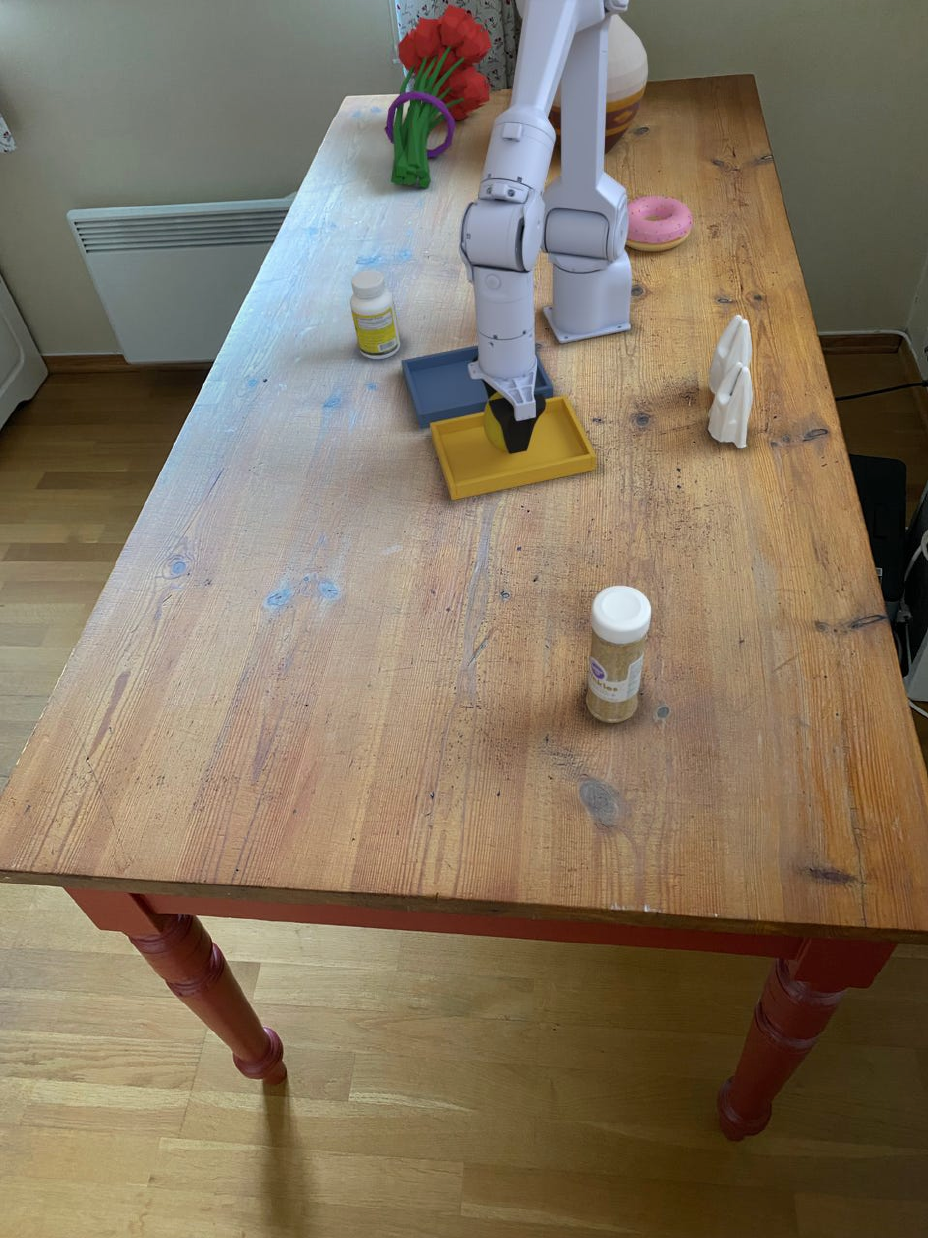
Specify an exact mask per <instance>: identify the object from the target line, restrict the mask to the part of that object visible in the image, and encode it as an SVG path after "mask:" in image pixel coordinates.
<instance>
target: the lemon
mask: <svg viewBox="0 0 928 1238" xmlns="http://www.w3.org/2000/svg"><path fill="white" fill-rule="evenodd" d="M499 398H504V397H503V396H502V395H501V394H500V393H499V392H496V393H495V394H494V395H493V396H491V397H490V399H489V400H488V402H487V404H486V407H485V411H484V416H483V425H484V430H485V434H486V436H487V438H488V440H489V441H490V443H491V444H492V445H493V446H495V447H496V448H498V449H500V450H503V451H508V450H507V447H506V445H505V441H504V437H503V433H502V429H501V425H500V424H499V422H498V421H497V420H496V418H495V417H494V415H493V413H492V411H491V408H490V406H489V401H490V400H494V399H499ZM532 433H533V432H532ZM531 436H532V435H531Z"/></svg>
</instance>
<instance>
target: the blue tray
mask: <svg viewBox="0 0 928 1238" xmlns="http://www.w3.org/2000/svg"><path fill="white" fill-rule="evenodd" d="M535 355H536V358H537V372H536V380H535V387H534V395H537V394H541V393H542V394H543V396H544V398H545V399H549V398H554V385H553V383H552V382H551V380H550V378H549V376H548V373H547V371H546V369H545V367H544V365H543V363H542V360H541V358H540V357H539V355H538V352H537V351H536V350H535ZM477 356H479V353H478V344H477V345H471V346H466V347H461V348H457V349H452V350H447V351H442V352H441V351H440V352H436V353H432V354H426V355H422V356H417V357H412V358H407V359H402V360H400V362H401V367H402V374H403V377H404V381H405V384H406V388H407V391H408V394H409V397H410V400H411V404H412V407H413V410H414V413H415V416H416V420H417V423H418V426H419V429H425V428H430V423H433V422H437V421H442V420H447V419H452V418H457V417H461V416H466V415H471V414H476V413H481V412H484V411H485V407H486V404H487V402H488V400H489V399H488V395H487V392H486V388H485V385H484V383H483V381H482V379H472V378H471V377H470V374H469V372H468V365H469V364H470V363H472V361H473V359H474V358H475V357H477Z"/></svg>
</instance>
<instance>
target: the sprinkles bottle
mask: <svg viewBox="0 0 928 1238" xmlns="http://www.w3.org/2000/svg"><path fill="white" fill-rule="evenodd" d="M651 616H652V606H651V603H650V601H649V599H648V598H647V596H646V595H645V594H644V593H643V592H642V591H640V590H638V589H636V588H634V587H632V586H626V585H613V586H609V587H606V588H604V589H602V590H601V591H599V592H598V593H597V594H596V596H594V598H593V599H592V602H591V608H590V618H589V619H590V620H589V621H590V626H591V639H590V643H591V644H590V654H589V659H588V667H587V668H588V669H587V692H586V695H585V703H586V704H585V705H586V707H587V709H588V711H589V712H590V714H591V715H592V716H593V717H594V718H596V719H597V720H598V721H601V722H604V723H609V724H614V723H616V724H617V723H621V722H624V721H627V720H628V719H630V718H631V717H633V715H634V713H635V712H636V710H637V708H638V703H639V702H638V701H639V700H638V693H639V689H640V686H641V685H640V683H641V677H642V671H643V663H644V656H645V649H646V648H645V647H646V636H647V633H648V631H649V629H650V624H651Z"/></svg>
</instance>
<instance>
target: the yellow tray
mask: <svg viewBox="0 0 928 1238" xmlns="http://www.w3.org/2000/svg"><path fill="white" fill-rule="evenodd" d="M545 400H546V408H545V410H544V412H543V413H542V414H541V415H540V417H539V418H538V420H537V422H536V424H535V426H534V429H533V433H532V436H531V439H530V443H529V446H528V449H527V450H526V451H522V452H517V453H513V454H509V452H508V451H503V450H500V449H498V448H496V447H495V446H493V445H492V444H491V443H490V441H489V440H488V438H487V436H486V434H485V430H484V425H483V416H484V412H481V413H476V414H471V415H466V416H461V417H457V418H452V419H447V420H442V421H437V422H433V423H430V427H429V428H430V434H431V439H432V442H433V446H434V448H435V451H436V455H437V459H438V461H439V464H440V465H439V466H440V468H441V471H442V474H443V478H444V480H445V483H446V487H447V490H448V494H449V496H450V500H451V501H456V500H461V499H466V498H470V497H475V496H480V495H484V494H488V493H493V492H498V491H502V490H507V489H512V488H516V487H517V488H518V487H521V486H527V485H531V484H535V483H540V482H546V481H550V480H555V479H559V478H564V477H568V476H572V475H578V474H582V473H588V472H592V471H596V469H597V454H596V452H595V450H594V448H593V445H592V444H591V442H590V440H589V438H588V436H587V434H586V432H585V430H584V428H583V426H582V423H581V421H580V420H579V418H578V416H577V414H576V412H575V410H574V407H573V405H572V404H571V402H570V400H569V398H568V395H566V394H564V395H559V396H553V398H549V399H545Z"/></svg>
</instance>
